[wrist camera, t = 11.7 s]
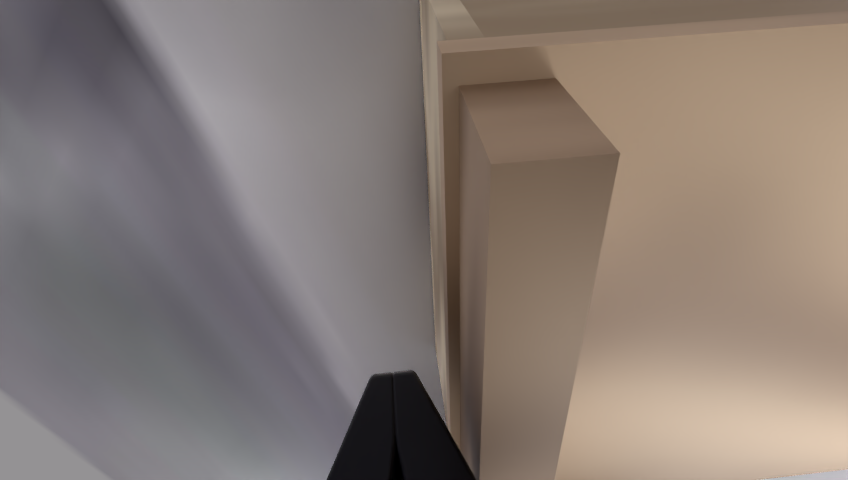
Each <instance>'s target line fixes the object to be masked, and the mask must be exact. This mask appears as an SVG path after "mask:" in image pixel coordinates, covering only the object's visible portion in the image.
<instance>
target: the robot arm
mask: <svg viewBox="0 0 848 480" xmlns="http://www.w3.org/2000/svg"><path fill="white" fill-rule="evenodd" d="M327 480H477V479H476V477H475V476H474V474H473V472H472V470H471V469H470V467H469V465H468V463H467V462H466V460H465V458H464V456H463V455H462V453H461V451H460V449H459V448H458V446H457V444H456V442H455V441H454V439H453V437H452V435H451V434H450V432H449V430H448V428H447V427H446V425H445V423H444V421H443V420H442V418H441V416H440V414H439V413H438V411H437V409H436V407H435V406H434V404H433V402H432V400H431V399H430V397H429V395H428V393H427V392H426V390H425V388H424V386H423V384H422V383H421V381H420V379H419V377H418V376H417V374H416V373H415V372H414V371H412V370H408V371H399V372H394V373H391V372H390V373H381V374H374V375H372V376H371V377H370V379H369V381H368V383H367V386H366V388H365V391H364V393H363V395H362V398H361V400H360V402H359V405H358V407H357V409H356V412H355V414H354V416H353V419H352V421H351V424H350V426H349V428H348V431H347V433H346V435H345V438H344V440H343V442H342V445H341V447H340V450H339V452H338V454H337V457H336V459H335V461H334V464H333V466H332V468H331V471H330V473H329V475H328V478H327Z"/></svg>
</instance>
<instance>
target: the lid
mask: <svg viewBox="0 0 848 480" xmlns="http://www.w3.org/2000/svg"><path fill="white" fill-rule="evenodd" d="M437 70H438V104H439V139H440V173H441V208H442V243H443V277H444V312H445V346H446V381H447V415H448V430H449V432H450V434H451V435H452V437H453V439H454V441H455V442H456V444H457V446H458V448H459V449H460V451H461V453H462V455H463V456H464V458H465V460H466V462H467V463H468V465H469V467H470V469H471V470H472V472H473V474H474V476H475V477H476V479H477V480H761V479H770V478H778V477H787V476H795V475H803V474H812V473H820V472H829V471H837V470H846V469H848V11H839V12H826V13H812V14H799V15H785V16H771V17H758V18H744V19H731V20H717V21H703V22H690V23H676V24H663V25H649V26H635V27H622V28H608V29H595V30H581V31H567V32H554V33H540V34H527V35H513V36H499V37H486V38H472V39H459V40H445V41H437Z"/></svg>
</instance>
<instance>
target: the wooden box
mask: <svg viewBox="0 0 848 480" xmlns="http://www.w3.org/2000/svg"><path fill="white" fill-rule="evenodd" d="M419 3H420V25H421V46H422V68H423V89H424V111H425V133H426V154H427V176H428V198H429V219H430V241H431V263H432V284H433V306H434V327H435V349H436V355H437V362H438V369H439V376H440V383H441V390H442V396H443V403H444V410H445V417H446V424H447V428H448V415H447V381H446V346H445V312H444V277H443V243H442V208H441V173H440V139H439V104H438V70H437V41H445V40H459V39H472V38H486V37H499V36H513V35H527V34H540V33H554V32H567V31H581V30H595V29H608V28H622V27H635V26H649V25H663V24H676V23H690V22H703V21H717V20H731V19H744V18H758V17H771V16H785V15H799V14H812V13H826V12H839V11H848V0H419Z"/></svg>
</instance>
